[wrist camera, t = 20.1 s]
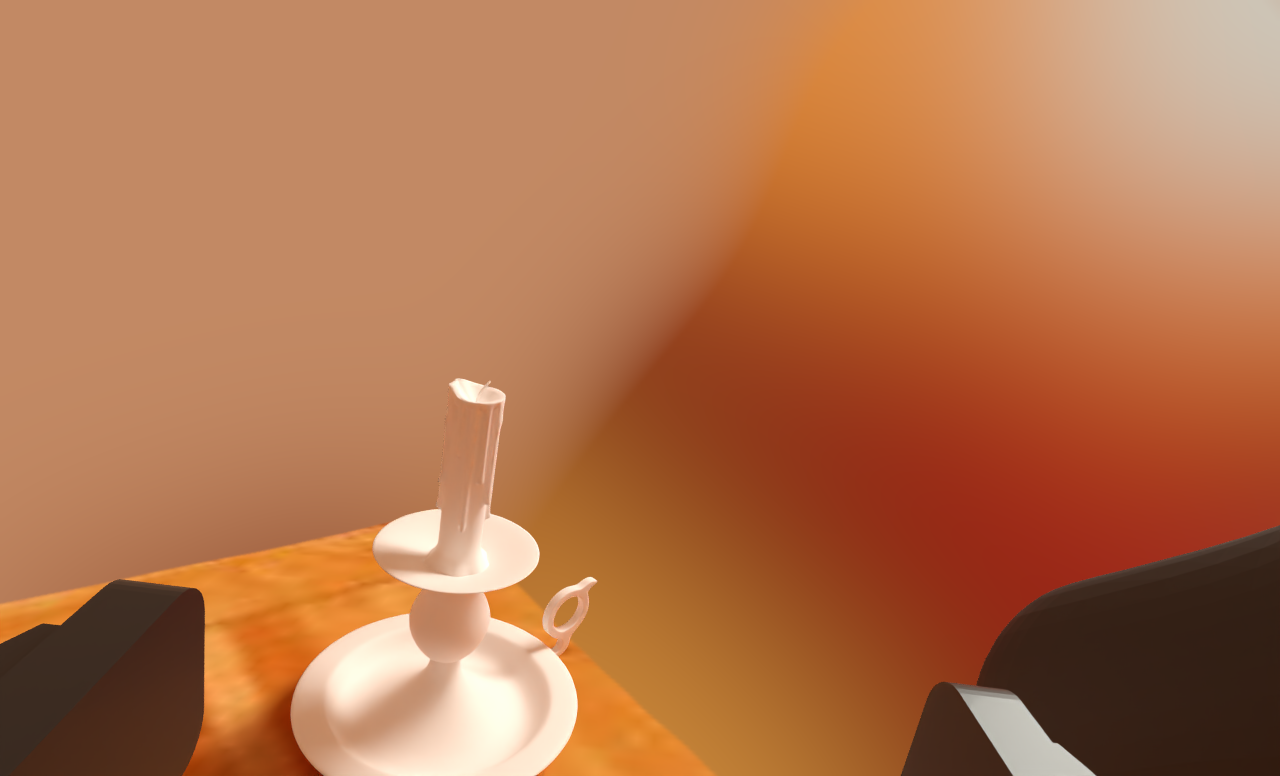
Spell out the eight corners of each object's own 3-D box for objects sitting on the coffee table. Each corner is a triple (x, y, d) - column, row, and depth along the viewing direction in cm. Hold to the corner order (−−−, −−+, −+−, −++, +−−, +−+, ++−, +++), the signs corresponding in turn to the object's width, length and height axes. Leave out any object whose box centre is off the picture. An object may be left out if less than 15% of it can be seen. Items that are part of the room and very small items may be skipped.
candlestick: (661, 731, 62) (733, 409, 54) (374, 907, 44) (415, 468, 36) (512, 602, 75) (551, 328, 67) (244, 699, 57) (253, 343, 49)
